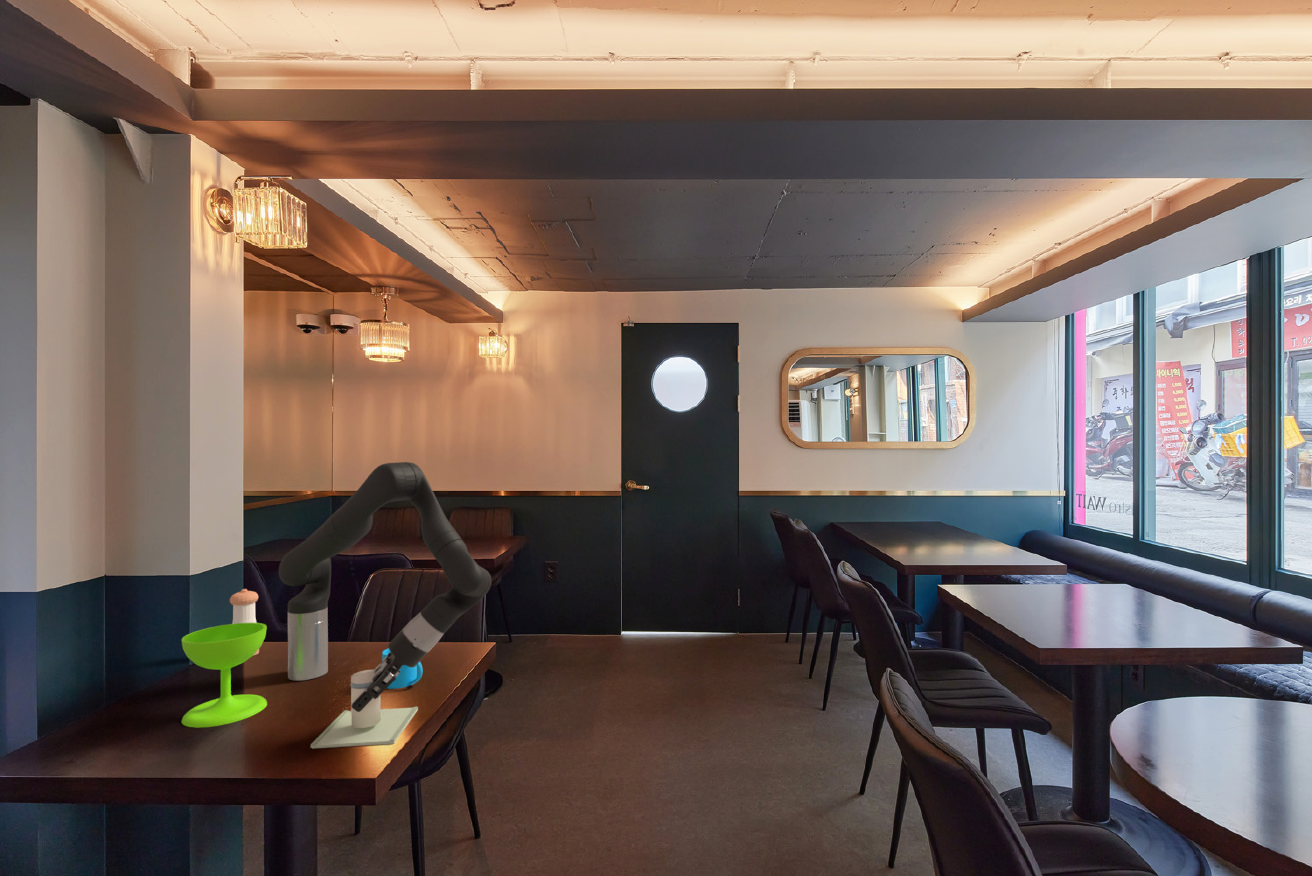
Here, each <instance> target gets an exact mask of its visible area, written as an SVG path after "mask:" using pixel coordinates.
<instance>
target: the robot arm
mask: <svg viewBox="0 0 1312 876" xmlns="http://www.w3.org/2000/svg"><path fill="white" fill-rule="evenodd" d="M407 500H408V501H409V502H411V504H412V505H413V506H414V507H415V508H416V510H417V511H418V513H419V516H420V523H421V524H420V526H421V529H420V530H421V536H422V539H423V542H424V544H425V546H426V547H427V549H428V551H429V552H430V553H431V554H432V556H433V557H434V559H435V560H436V561H437V562H438V563H439V565H440V566H441V569H442V571H443V573H444V574H445V577H446V579H447V581H448V582H449V584H450V585H451V588H450V589H449V590H448V591H446V592H445V593H442V594H438V595H436V596H435V597H434V598H433V599H431V601H430V602H429V603H428V604H426V606H424V608H423V609H422V610H421V611H420V612H419V613H418V614H417V615H415V617H413V618H412V619H411V620H410V621H408V623H407V624H406V625H404V627H403V628H402V629H401V630H400V631H399V632H398V633H397V634H396V635H395V637H393V639H391V641H390V642H389V643H388V646H387V647H388V648H389V650H390V652H389V653H388V655H387V656H386V657H385V658H384V659H383V661H381V662H379V664H378V665H377V666H376V667H375V668H374V670H378V671H377V673H376V674H375V675H374V676H373V678H372V682H371V684H370V685H369V686H368V687H367V688H366V689H365V691H364V692H363V693H362V694H361V695H360V696H359V697H358V698H357V699H356V700H355V701H354V702H353V704H352V708H353V709H354V710H356V711H357V712H360V711H361V710H362V709H363V708H364V707H365V706H366V705H367V704H368V703H369V702H370V701H371V699H372V698H374V699H376V698H378V697H379V695H380V694H381V695H382V694H383V693H384V692H385V691H386V690H387V689H388V688H387V687H388V686H389V685H390V684H391V683H392V682H393V681H395V680H396V678H397V676H398V674H399V673H400V671H399V670H400V669H401V667H402V666H403V665H407V666H408V667H411V668H412V667H415V666H416V665H417V664H418V663H419V662H421V661H422V660H423V659H424V658H425V657H426V655H428V653H429V652H430V651H431V650H432V649H433V648H434V647H435V646H436V645H437V644H438V642H439V641H440V640H441V638H442V637H443V635H444V634H445V633H446V632H447V631H448V630H449V629H450V628H451V627H452V626H453V625H454V623H455V622H456V621H457V620H458V619H459V617H460V618H461V616H462V615H464V614H465V613H467V612H468V611H469V610H470V609H471V608H473V607H474V606H475V605H477V604H478V603H479V602H480V601H481V600H482V599H483V598H484V597H485V596H486V595H487V593H488V592H489V590H490V588H491V586H492V575H491V574H490V572H489V571H488V570H487V569H485V568H484V567H482V566H480V565H479V564H478V563H477V562H476V561H475V560H474V558H473V557H472V556H471V554H470V553H469V550H468V547H467V544H466V543H465V541H464V540H463V539H462V537H461V536H460V534H459V533H458V532H457V531H456V529H455V528H454V526H452V524H451V522H449V519H448V518H447V516H446V514H445V513H444V511H443V509H442V507H441V505H440V503H439V501H438V499H437V497H436V495H435V493H434V491H433V489H432V486H431V485H430V483H429V481H428V479H427V477H426V475H425V473H424V472H423V470H422V469H421V468H420V467H419V465H417V464H416V463H415V462H410V461H409V462H408V461H402V462H400V461H399V462H387V463H386V462H385V463H383V464H380V465H378V466H377V467H375V468H374V470H373V471H371V473H370V474H369V475H368V476H367V478H366V479H365V481H364V482H363V483H361V485H360V486H359V488H358V489H357V491H355V492H354V494H352V495H351V496H350V497H349V498H348V499H347V500H346V501H345V503H343V505H341V506H340V507H339V508H337V510H336V511H335V512H333V513H332V515H330V517H328V518H327V519H326V520H325V521H324V523H323V524H322V525H320V526H319V527H318V528H317V529H315V530H314V532H312V534H311V535H310V536H308V537H307V538H306V539H305V540H304V541H302V542H301V543H299V544H298V545H297V546H295V547H294V548H292V549H291V550H290V551H288V552H287V553H286V554H285V555H284V556H283V558H282V559H281V562H279V567H278V575H279V579H280V581H281V582H282V583H283V584H284V585H286V586H289V587H300V586H305V587H304V588H303V590H301V592H299V593H298V594H297V595H295V596H294V597H292V598H291V599H290V600H289V601H288V603H287V679H288V680H291V681H307V680H311V679H316V678H319V677H322V676H325V675H326V674H327V673H328V672H329V636H328V635H329V632H328V631H329V629H328V626H329V623H328V621H329V619H328V617H329V615H328V611H329V610H328V607H329V606H328V603H329V599H330V597H331V596H330V595H331V579H332V559H331V558H332V557H334V556H336V555H340V554H341V553H343V552H346V551H347V550H349V549H351V548H353V546H355V545H356V544H357V543H359V541H361V540H362V539H363V538H364V537H365V536H366V535H367V534H368V533H369V532H370V530H372V529H371V528H372V526H373V521H374V513H376V512H377V511H378V510H379V509H380V508H382V507H383V506H384V505H386V504H389V503H392V502H399V501H407ZM388 648H387V649H388ZM377 677H378V679H377ZM375 686H377V687H379V688H378V689H377V691H375V690H374V689H373V688H374V687H375Z"/></svg>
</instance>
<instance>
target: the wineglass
mask: <svg viewBox="0 0 1312 876" xmlns="http://www.w3.org/2000/svg"><path fill="white" fill-rule="evenodd" d="M267 629H268V628H267V624H265V623H261V622H257V623H236V624H232V623H229V624H221V625H217V626H211V627H207V628H202V629H200V630H196V631H193V632H190V633H188V634H186V635H184V636H182V638H181V645H182V650H183V652H184V653H185V656H186V657H187V658H188V659H189V660H191V662H192V663H194V664H195V665H196V666H198V667H200V668H204V669H206V670H207V669H208V670H220V696H219V698H216V699H211V700H209V701H205V702H203V703H201V704H198V705H196V706H194V707H193V708H191V709H190V710H188V711H187V712H186V713H184V715H183V716H182V719H181V724H182V725H183V726H185V727H188V728H195V729H196V728H197V729H199V728H211V727H219V726H223V725H228V724H233V723H236V722H240V721H242V720H245V719H247V718H251V717H252V716H254V715H256V714H258V713H260V712H261V711H263V710H264V709H265V708H266V707H267V706H268V701H267V699H266V698H264V697H263V696H262V695H258V694H233V695H232V690H231V689H232V684H231V682H232V681H231V680H232V674H231V672H232V671H231V669H232V668H234V667H237V666H239V665H241V664H243V663H245V662H246V661H248V660H250V658H252V657H253V655H254V654H255V653H256V652H257V650H258V649H259V650H260V648H261V647H262V645H263V643H264V640H265V638H266V637H267V636H266V635H267ZM254 656H255V655H254Z"/></svg>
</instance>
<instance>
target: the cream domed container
mask: <svg viewBox="0 0 1312 876" xmlns="http://www.w3.org/2000/svg"><path fill="white" fill-rule="evenodd" d="M377 671H378V670H375V669H365V670H360V671H357V672H355V673H353V674H351V676H350V693H351V694H350V701H351V702H350V703H351V704H350V705H351V706H350V707H351V710H350V711H351V725H352V727H354V728H366V727H370V726H373V725H376V724H377V723H379V722H380V721H381V709H382V708H381V707H382V706H381V700H382V699H381V698H382V697H381V695H382V693H381V694H380V695H379V697H378V698H376V699H374V698H372V699H371V701H370V702H369V703H368V704H367V705H366V706H365V707H364V708H363V709H362V710H361V711H360V712H357V711H356V710H354V709H353V708H352V704H353V702H354V701H355V700H356V699H357V698H358V697H359V696H360V695H361V694H362V693H363V692H364V691H365V689H366V688H367V687H368V686H369V685H370V684H371V682H372V678H373V676H374V675H375V674H376V673H377ZM377 679H378V677H377ZM378 688H379V687H377V686H375V687H374V688H373V689H374V690H375V691H377V689H378Z"/></svg>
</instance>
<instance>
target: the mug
mask: <svg viewBox="0 0 1312 876" xmlns="http://www.w3.org/2000/svg"><path fill="white" fill-rule="evenodd" d="M389 652H390V650H389V648H386V649H384V650H383V651H382V653H381V655H382V656H381V660H382V661H383V659H384V658H385V657H386V656H387V655H388V653H389ZM382 661H381V662H382ZM399 671H400V673H399V674H398V676H397V678H396V680H395V681H393V682H392V683H391V684H390V685H389V686H388V687H387V688H386V689H391V690H393V689H394V690H395V689H402V688H407V687H409V686H412V685H414V684H416V683H418V682H419V681H420V680H421V679H422V676H423V673H424V672H423V671H424V670H423V665H422V663H421V661H420V662H419V663H418V664H417V665H416V666H415V667H412V668H411V667H408V666H407V665H403V666H402V667H401V669H400V670H399Z"/></svg>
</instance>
